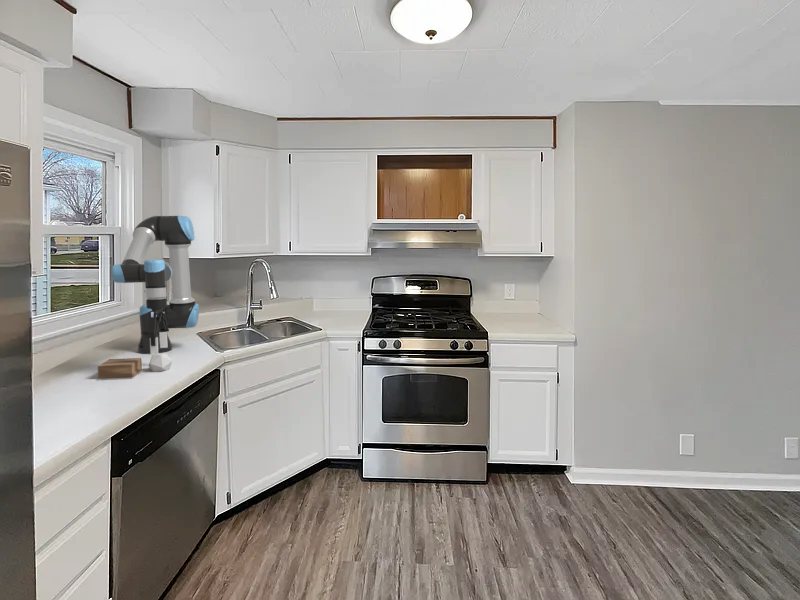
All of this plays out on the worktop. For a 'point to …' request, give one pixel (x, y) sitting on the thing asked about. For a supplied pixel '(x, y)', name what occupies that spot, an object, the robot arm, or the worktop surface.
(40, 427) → the worktop surface
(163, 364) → the die
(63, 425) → the worktop surface
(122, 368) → the walnut brick
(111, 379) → the base plate
